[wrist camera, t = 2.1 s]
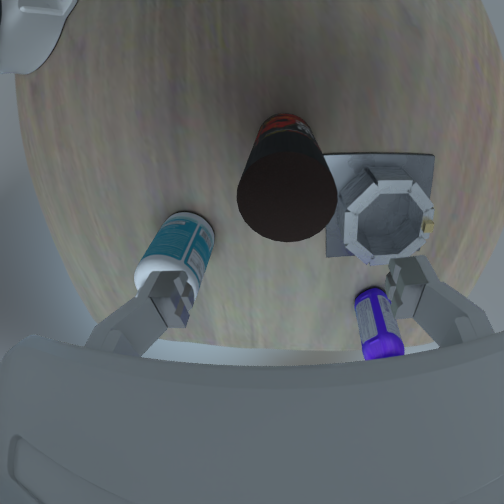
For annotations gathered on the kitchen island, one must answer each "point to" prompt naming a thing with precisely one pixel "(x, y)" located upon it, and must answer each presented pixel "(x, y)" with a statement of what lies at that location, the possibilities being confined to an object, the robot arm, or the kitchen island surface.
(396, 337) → the bottle
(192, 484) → the robot arm
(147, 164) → the kitchen island surface
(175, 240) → the pill bottle
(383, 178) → the hub collar
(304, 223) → the deodorant
